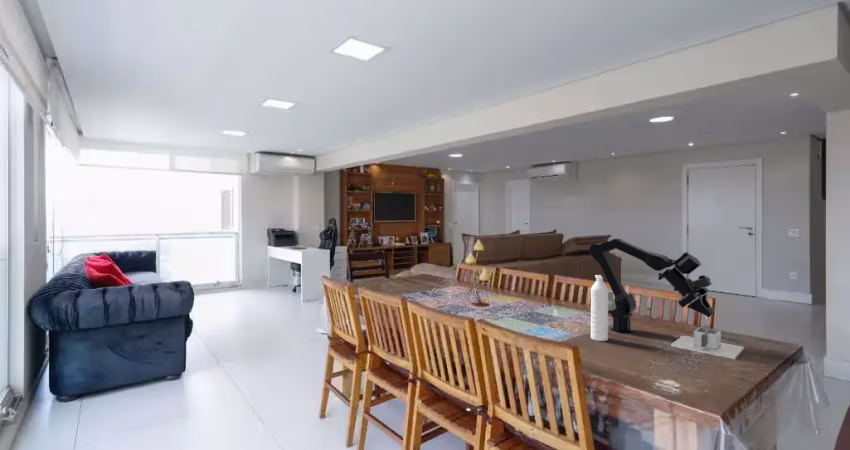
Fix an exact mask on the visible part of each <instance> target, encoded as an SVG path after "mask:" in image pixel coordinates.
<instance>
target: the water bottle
mask: <svg viewBox="0 0 850 450" xmlns="http://www.w3.org/2000/svg"><path fill="white" fill-rule="evenodd" d="M594 277H595V282H594V283H593V284H592V286H591V288H590V338H591V339H592V340H593V341H598V342H606V341H608V340H609V311H608V290H609V288H608V287H607V285H606V284H605V282H604V278H603V276H602V275H601V274H595V275H594Z"/></svg>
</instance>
